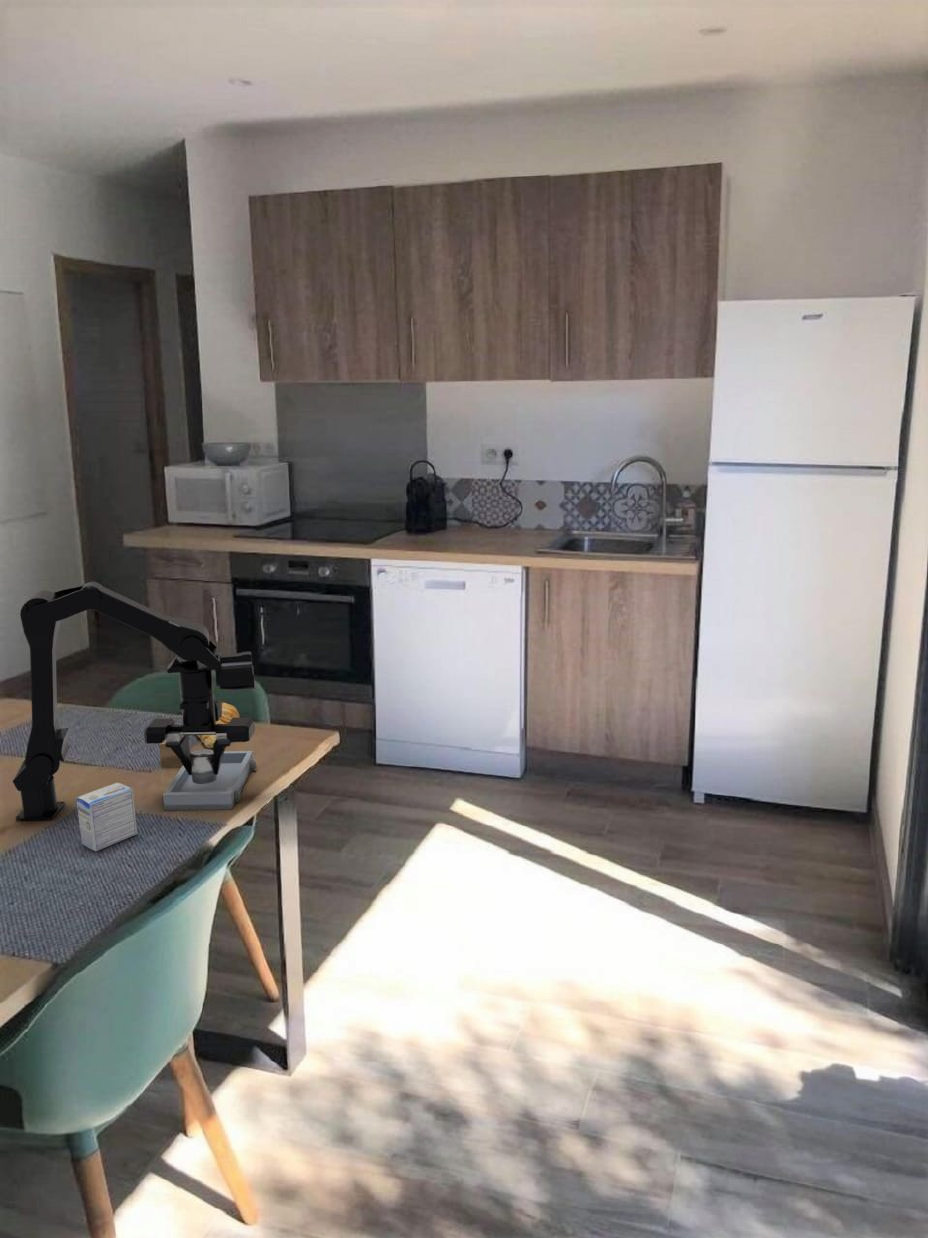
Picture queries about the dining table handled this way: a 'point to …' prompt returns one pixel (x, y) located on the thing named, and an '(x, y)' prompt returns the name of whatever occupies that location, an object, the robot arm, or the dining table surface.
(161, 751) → the walnut block
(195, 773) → the cylinder
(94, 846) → the medicine box
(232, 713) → the croissant
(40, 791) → the robot arm
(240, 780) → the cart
